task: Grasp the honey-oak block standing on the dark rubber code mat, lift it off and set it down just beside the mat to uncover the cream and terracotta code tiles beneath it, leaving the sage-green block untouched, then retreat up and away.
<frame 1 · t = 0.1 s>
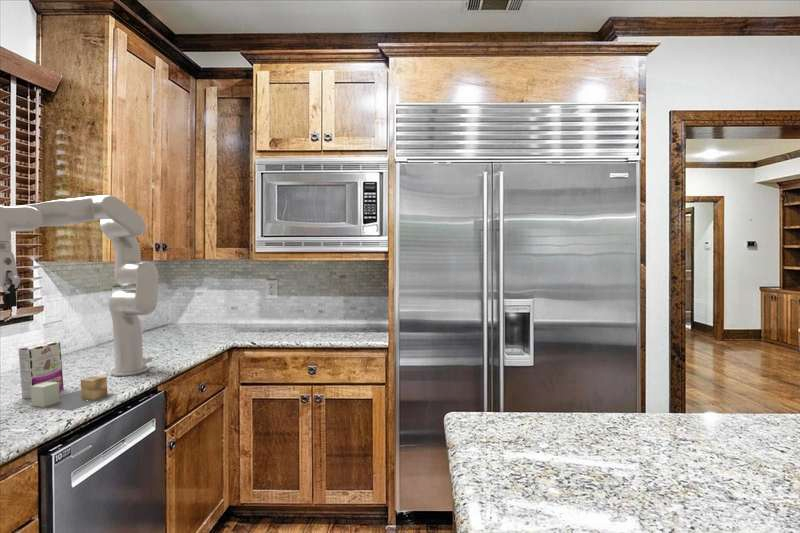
candy bar box: (43, 394, 162), on the countertop
code mat: (74, 400, 154), on the countertop
sage block: (46, 403, 150), resting on code mat
oak block: (94, 396, 156), resting on code mat
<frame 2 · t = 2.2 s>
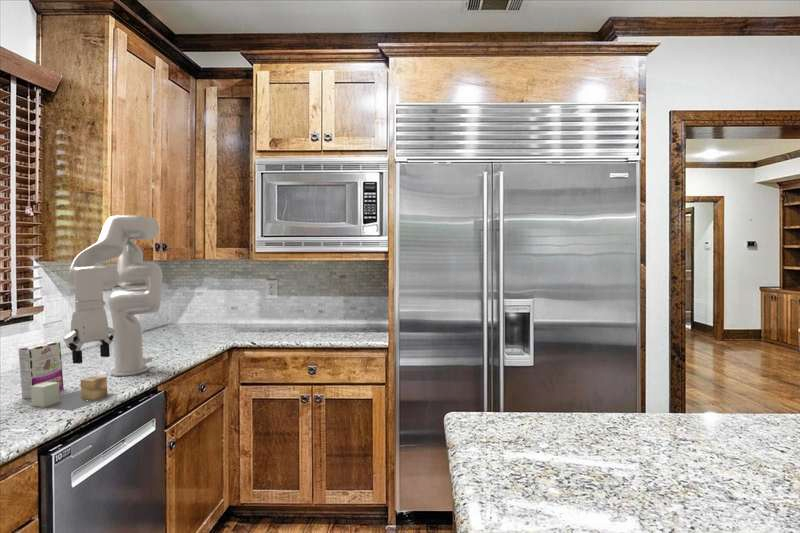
hand: (91, 359, 155), 12 cm above the countertop, fingers open, 9 cm apart
nothing on the countertop moved.
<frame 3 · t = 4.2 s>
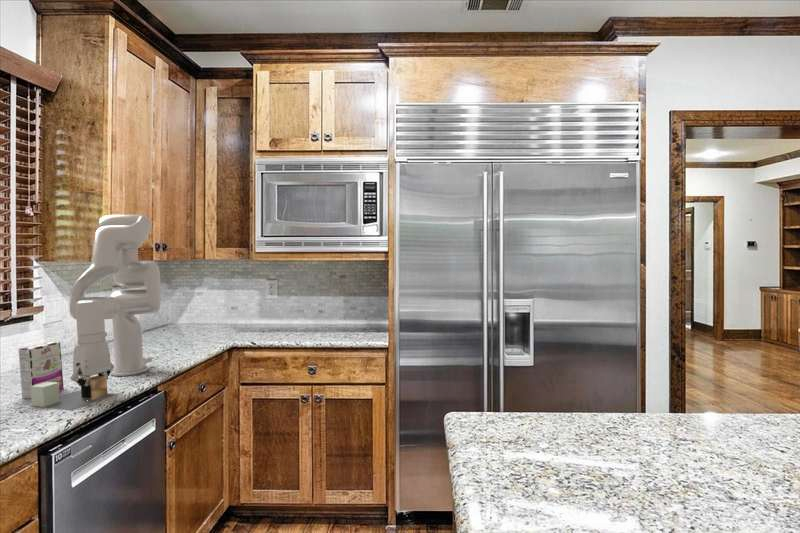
hand: (94, 394, 156), 1 cm above the countertop, fingers closed on oak block, 5 cm apart
oak block: (94, 396, 156), resting on code mat, touching gripper
everything else where it was.
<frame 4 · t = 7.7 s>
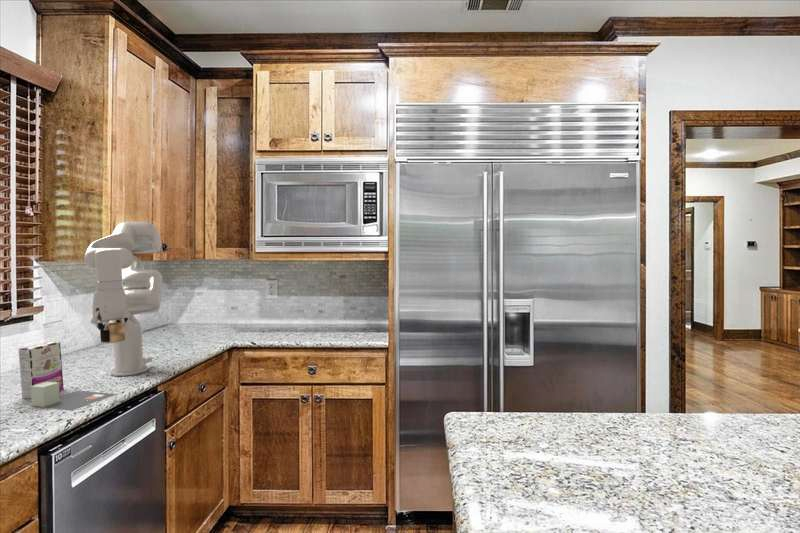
hand: (112, 339, 164), 17 cm above the countertop, fingers closed on oak block, 5 cm apart
oak block: (113, 341, 164), point 16 cm above the countertop, touching gripper
everything else where it was.
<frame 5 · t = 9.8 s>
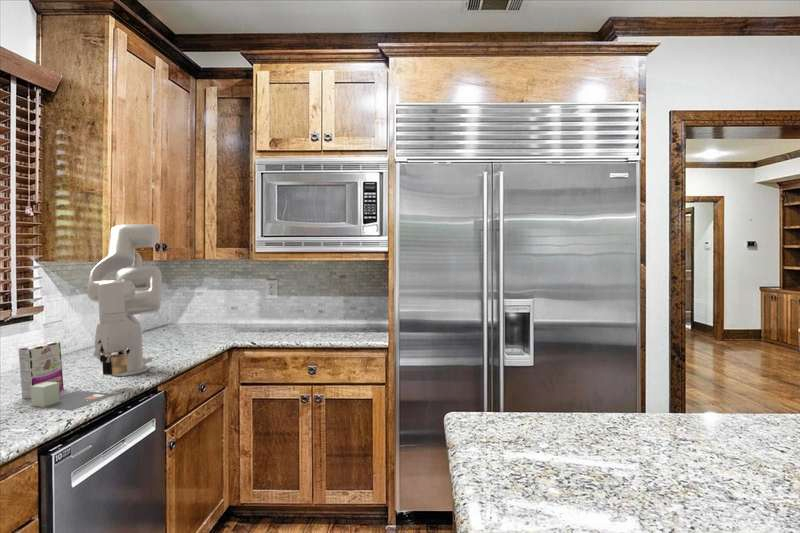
hand: (114, 371, 165), 6 cm above the countertop, fingers closed on oak block, 5 cm apart
oak block: (115, 373, 165), point 5 cm above the countertop, touching gripper
everything else where it was.
when the fingers open (2 cm above the countertop, at t = 11.4 s): oak block drops 2 cm, on the countertop.
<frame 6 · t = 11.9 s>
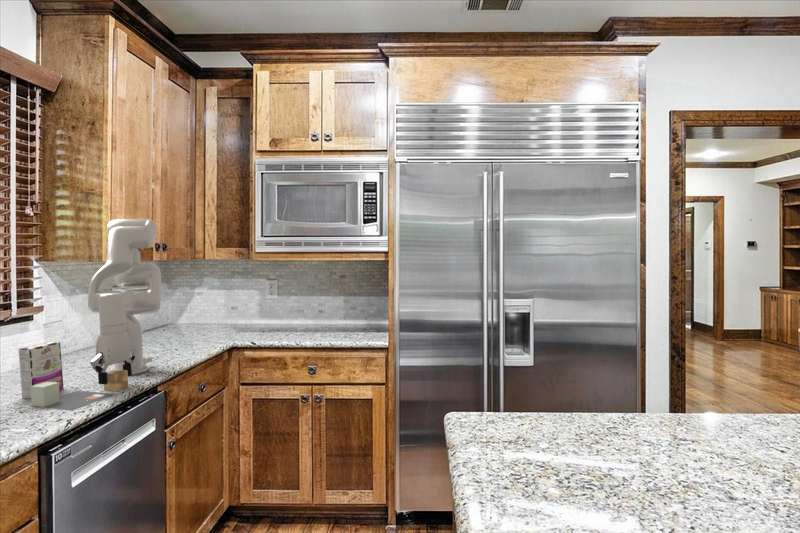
hand: (115, 379, 165), 3 cm above the countertop, fingers open, 9 cm apart
oak block: (116, 389, 165), on the countertop
everything else where it was.
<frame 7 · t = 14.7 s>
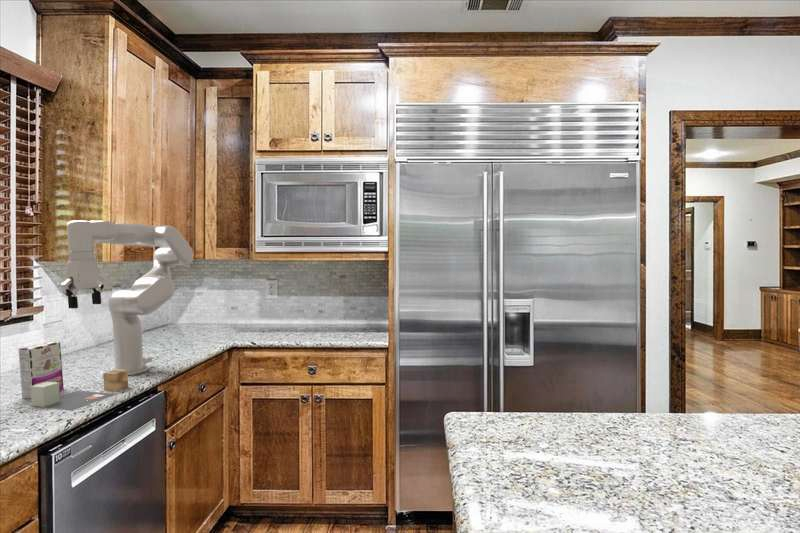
hand: (85, 306, 169), 28 cm above the countertop, fingers open, 9 cm apart
nothing on the countertop moved.
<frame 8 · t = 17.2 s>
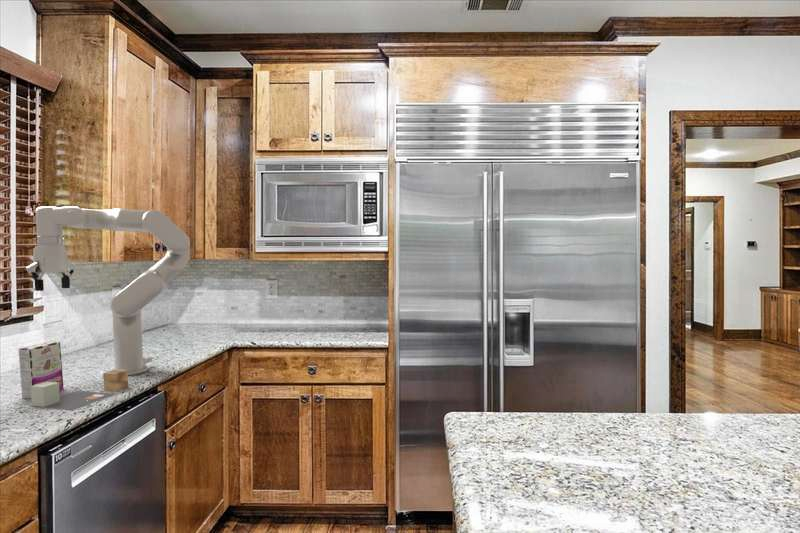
hand: (53, 289, 175), 33 cm above the countertop, fingers open, 9 cm apart
nothing on the countertop moved.
at the end: oak block inside the target area (0.1 cm from its centre), on the countertop; oak block tilted 0°; the gripper is holding nothing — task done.
